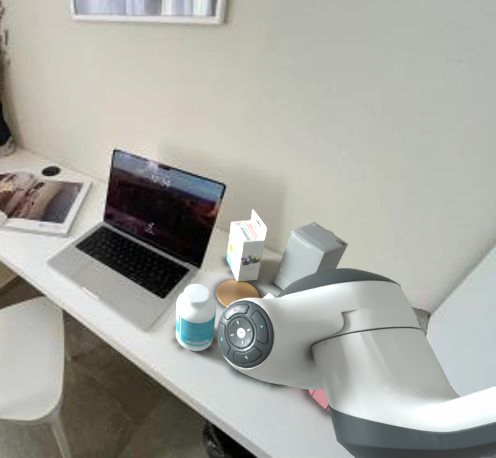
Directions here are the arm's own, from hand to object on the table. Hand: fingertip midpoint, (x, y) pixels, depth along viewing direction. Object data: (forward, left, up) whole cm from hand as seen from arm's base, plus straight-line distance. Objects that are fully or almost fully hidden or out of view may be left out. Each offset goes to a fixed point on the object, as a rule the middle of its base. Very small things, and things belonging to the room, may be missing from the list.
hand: (336, 364), depth 55 cm
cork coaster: (+24, +7, -11) cm, 27 cm away
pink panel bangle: (+2, -4, -11) cm, 12 cm away
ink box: (+32, +4, -11) cm, 34 cm away
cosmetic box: (+25, -7, -11) cm, 28 cm away
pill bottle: (+13, +19, -11) cm, 26 cm away
